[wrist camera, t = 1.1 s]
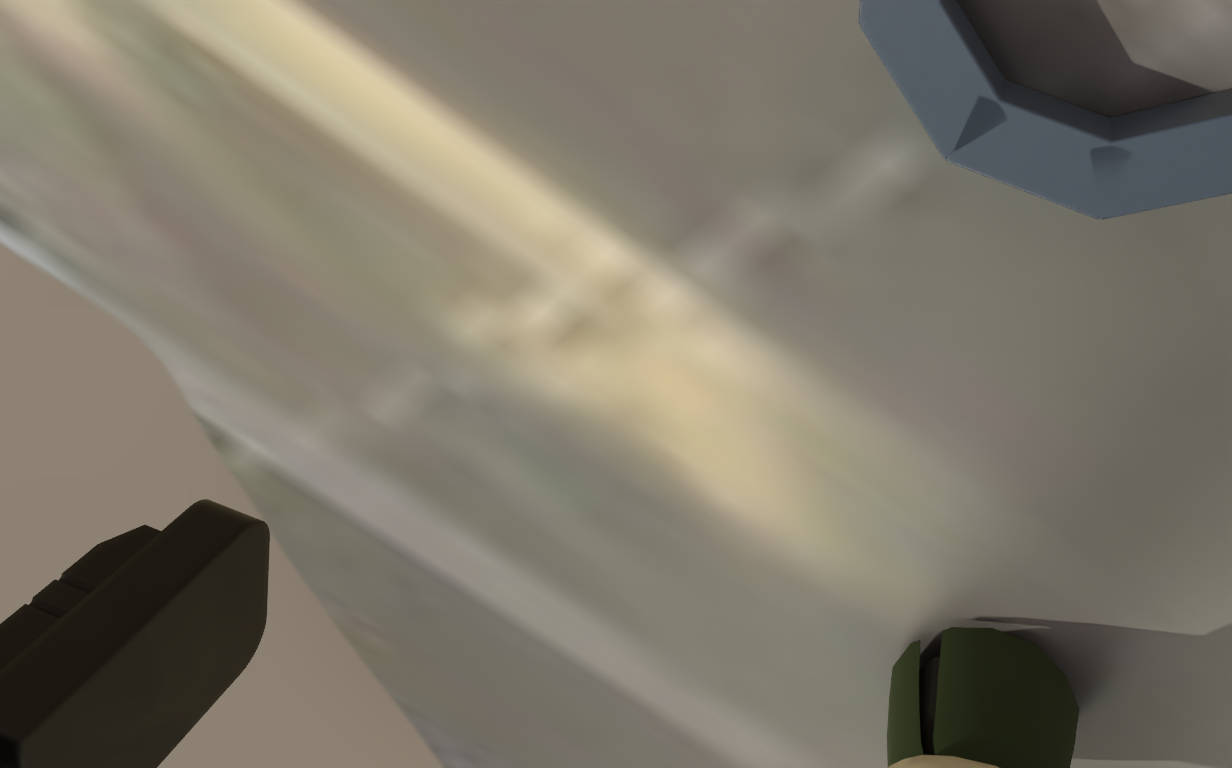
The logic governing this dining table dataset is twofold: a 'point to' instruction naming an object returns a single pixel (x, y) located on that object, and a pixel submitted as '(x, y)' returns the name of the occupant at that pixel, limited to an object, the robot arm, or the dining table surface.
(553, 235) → the dining table surface
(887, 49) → the slate ring
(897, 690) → the character mug
